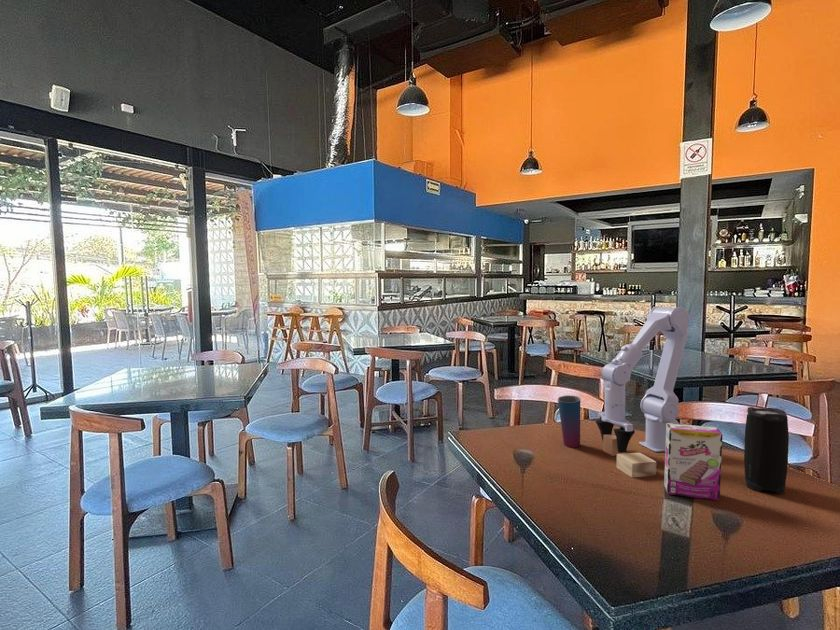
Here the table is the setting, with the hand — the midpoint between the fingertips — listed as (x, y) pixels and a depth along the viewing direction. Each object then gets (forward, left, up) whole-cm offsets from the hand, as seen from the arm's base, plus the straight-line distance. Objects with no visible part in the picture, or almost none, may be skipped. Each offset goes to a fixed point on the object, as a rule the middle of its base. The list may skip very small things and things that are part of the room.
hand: (614, 447), depth 137 cm
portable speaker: (-21, +30, -2) cm, 37 cm away
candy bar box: (-1, +29, -2) cm, 29 cm away
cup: (+9, -9, -1) cm, 13 cm away
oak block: (+3, +14, -2) cm, 14 cm away
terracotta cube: (0, 0, -2) cm, 2 cm away
